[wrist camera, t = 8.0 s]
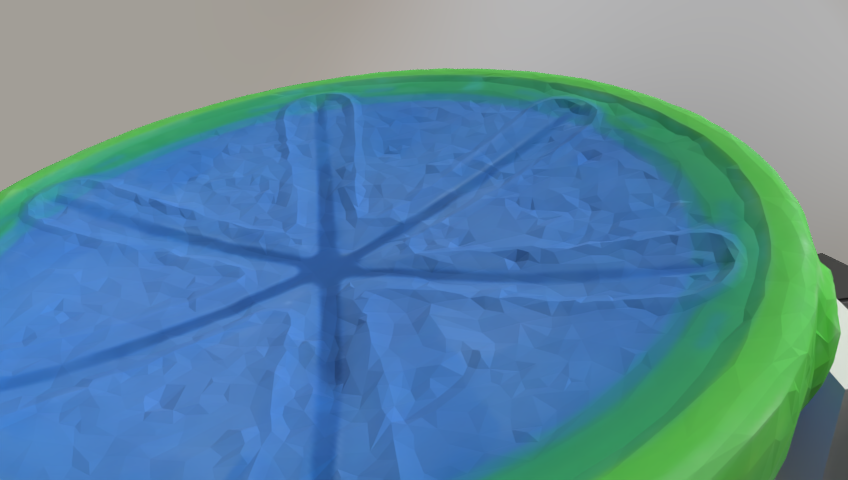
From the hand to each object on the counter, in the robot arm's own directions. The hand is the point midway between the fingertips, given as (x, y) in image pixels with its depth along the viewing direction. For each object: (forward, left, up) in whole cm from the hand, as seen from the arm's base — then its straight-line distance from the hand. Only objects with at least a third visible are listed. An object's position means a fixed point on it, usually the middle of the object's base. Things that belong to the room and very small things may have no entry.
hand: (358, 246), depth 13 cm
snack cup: (+1, +4, -7) cm, 8 cm away
